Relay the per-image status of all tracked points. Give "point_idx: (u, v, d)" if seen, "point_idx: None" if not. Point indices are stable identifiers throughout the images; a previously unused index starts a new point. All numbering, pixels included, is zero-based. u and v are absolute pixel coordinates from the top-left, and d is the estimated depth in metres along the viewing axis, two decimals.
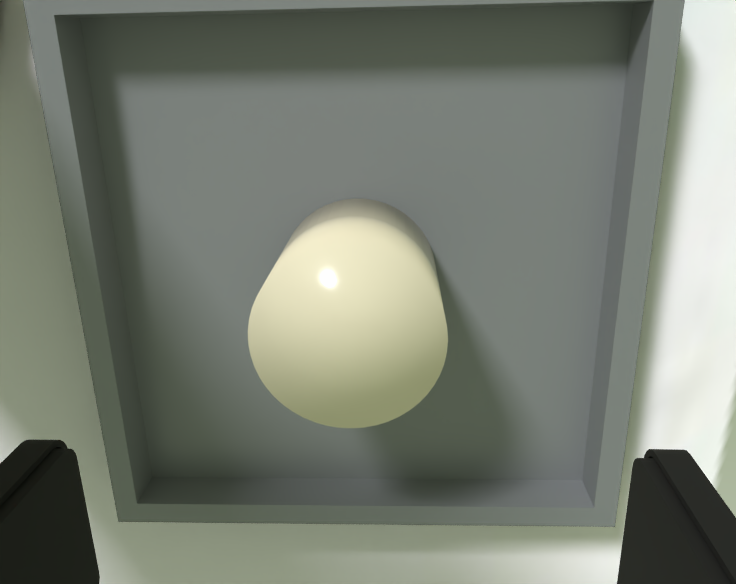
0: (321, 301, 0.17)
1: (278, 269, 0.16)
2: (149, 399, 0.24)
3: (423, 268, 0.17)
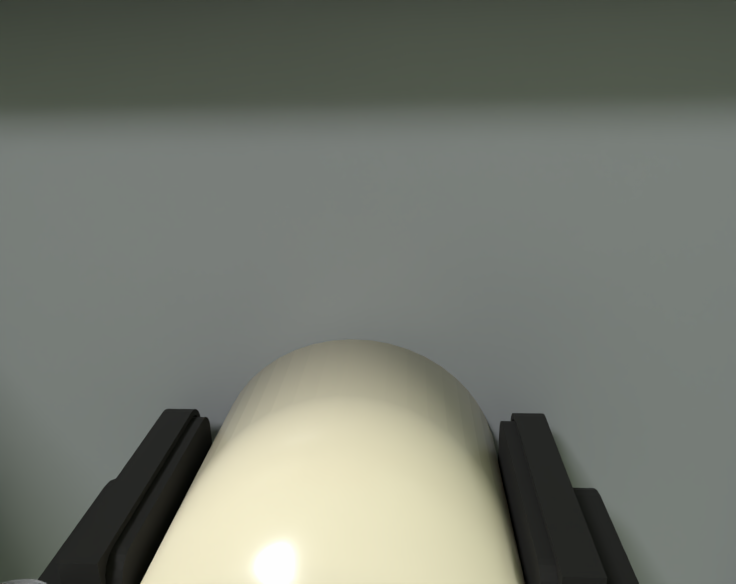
0: None
1: None
2: None
3: (498, 577, 0.07)
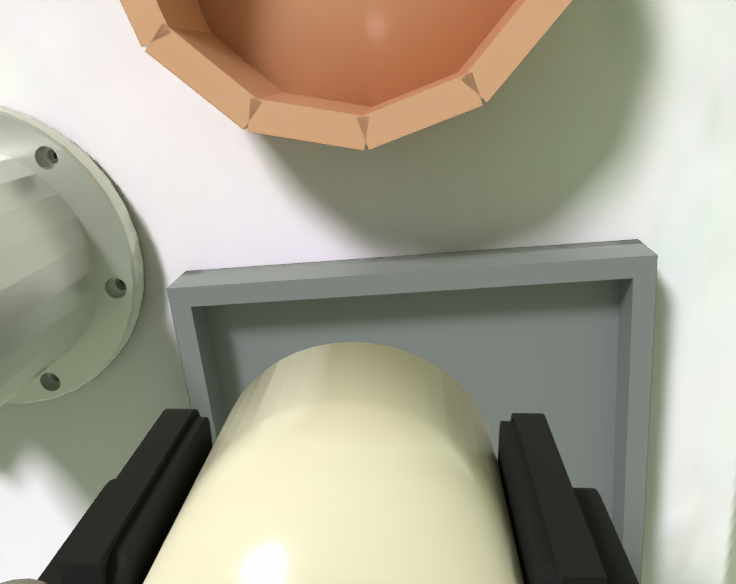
0: None
1: None
2: None
3: (498, 580, 0.07)
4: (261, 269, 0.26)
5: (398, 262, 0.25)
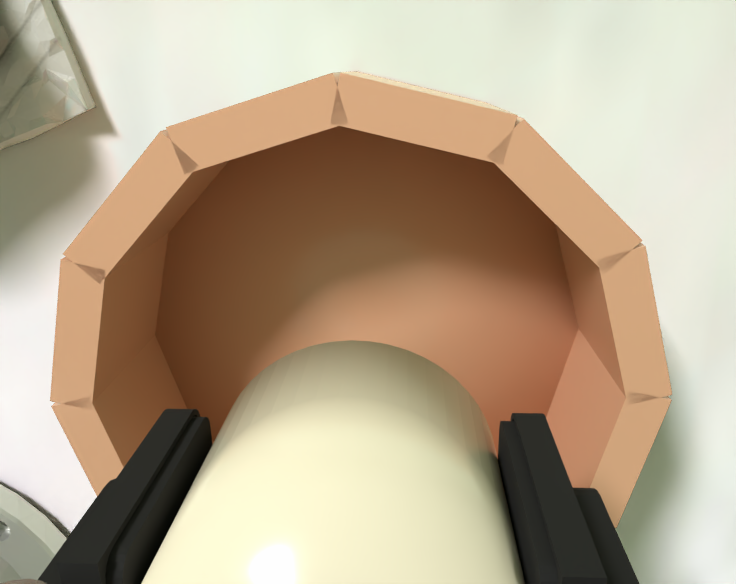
0: None
1: None
2: None
3: (499, 579, 0.07)
4: None
5: None
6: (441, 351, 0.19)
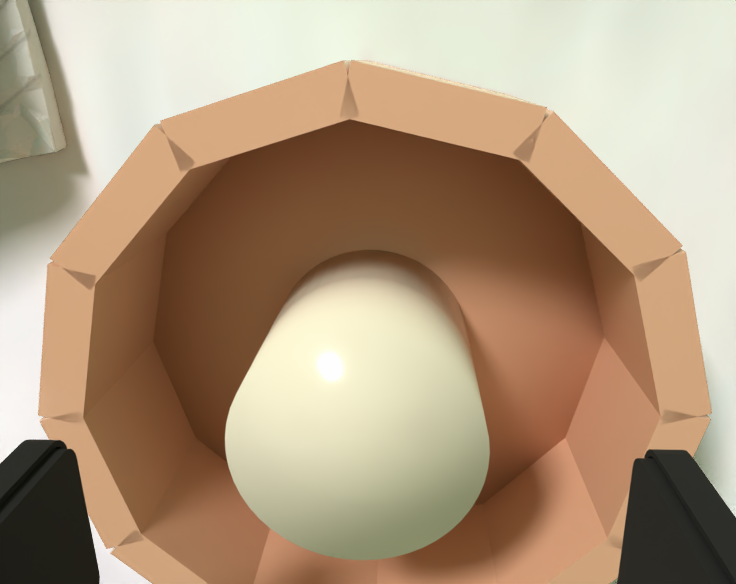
0: (321, 402, 0.12)
1: (264, 360, 0.12)
2: None
3: (457, 356, 0.13)
4: None
5: None
6: None
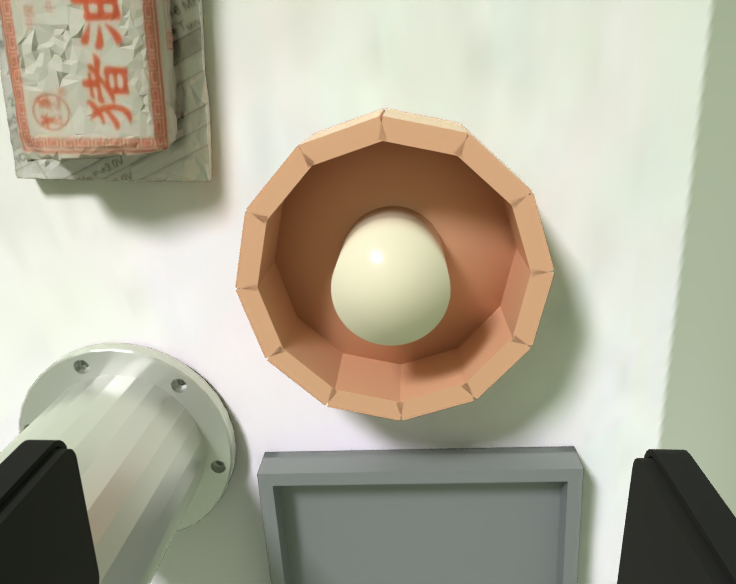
0: (374, 267, 0.28)
1: (349, 248, 0.28)
2: None
3: (434, 246, 0.29)
4: (319, 456, 0.38)
5: (413, 458, 0.37)
6: None
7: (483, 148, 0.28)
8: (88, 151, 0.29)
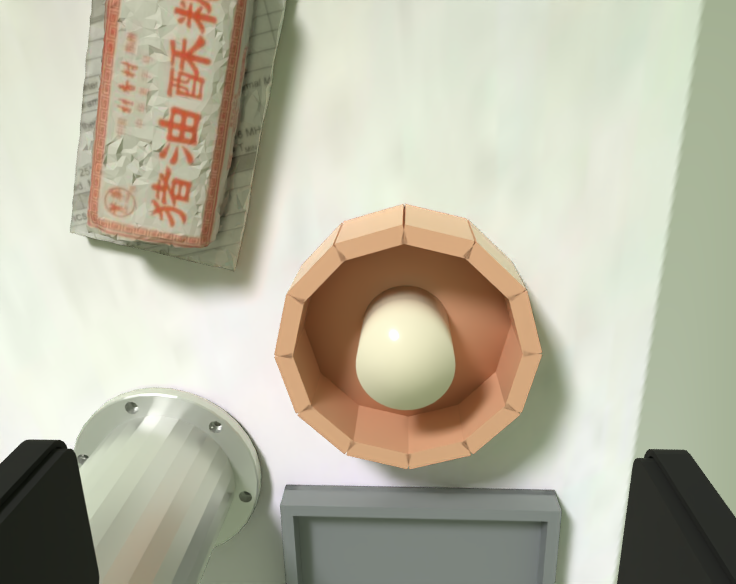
0: (393, 346, 0.34)
1: (372, 330, 0.34)
2: None
3: (443, 329, 0.34)
4: (333, 490, 0.44)
5: (415, 495, 0.43)
6: None
7: (487, 253, 0.33)
8: (143, 238, 0.35)
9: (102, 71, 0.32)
